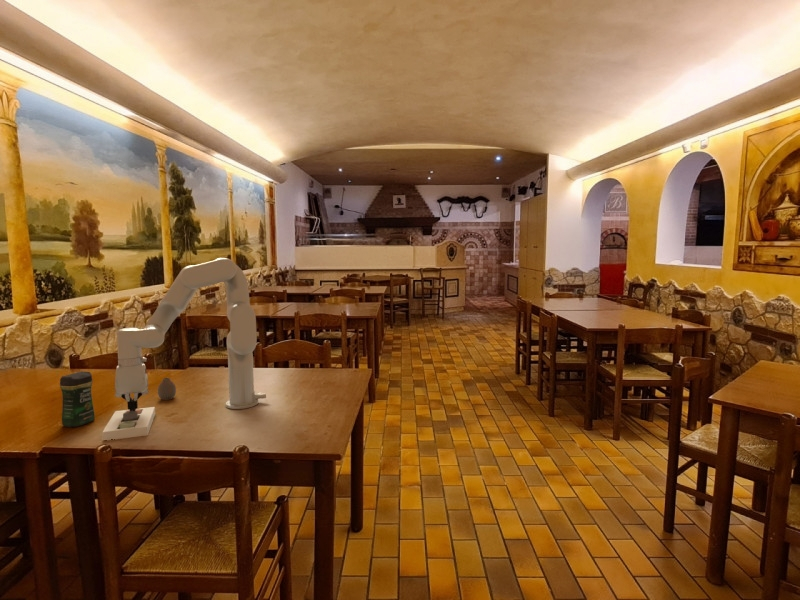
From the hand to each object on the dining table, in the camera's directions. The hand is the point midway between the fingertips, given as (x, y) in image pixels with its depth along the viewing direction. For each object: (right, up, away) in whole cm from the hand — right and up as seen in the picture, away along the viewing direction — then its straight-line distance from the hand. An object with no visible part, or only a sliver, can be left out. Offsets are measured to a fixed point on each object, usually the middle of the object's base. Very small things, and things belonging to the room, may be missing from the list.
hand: (132, 410), depth 170 cm
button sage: (+5, -4, -12) cm, 14 cm away
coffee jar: (-18, -4, -2) cm, 19 cm away
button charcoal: (+3, -2, -6) cm, 7 cm away
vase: (0, -1, +26) cm, 26 cm away
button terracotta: (0, -3, 0) cm, 3 cm away
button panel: (+3, -4, -6) cm, 8 cm away
